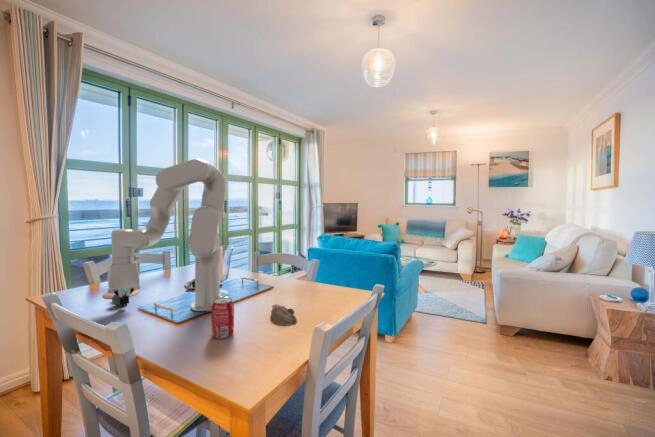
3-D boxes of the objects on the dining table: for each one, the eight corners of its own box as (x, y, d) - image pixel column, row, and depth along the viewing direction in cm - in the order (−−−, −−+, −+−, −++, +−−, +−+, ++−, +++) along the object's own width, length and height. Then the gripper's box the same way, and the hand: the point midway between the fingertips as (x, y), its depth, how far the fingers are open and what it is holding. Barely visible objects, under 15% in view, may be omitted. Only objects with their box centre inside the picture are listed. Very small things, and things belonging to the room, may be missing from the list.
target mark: (144, 289, 147) (144, 288, 147) (129, 298, 133) (129, 298, 133) (113, 289, 145) (113, 288, 145) (95, 299, 131) (95, 298, 131)
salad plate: (178, 284, 158) (177, 275, 157) (212, 279, 169) (212, 271, 169) (188, 294, 143) (188, 284, 142) (225, 287, 154) (225, 278, 154)
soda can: (226, 328, 106) (226, 295, 105) (238, 334, 101) (238, 299, 100) (207, 335, 100) (207, 300, 99) (219, 342, 96) (219, 305, 95)
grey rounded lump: (130, 290, 126) (132, 301, 127) (119, 288, 127) (121, 300, 128) (118, 297, 120) (121, 309, 122) (107, 295, 122) (110, 307, 123)
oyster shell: (272, 327, 108) (272, 314, 108) (268, 314, 120) (268, 302, 120) (298, 325, 111) (298, 312, 110) (292, 312, 123) (292, 300, 122)
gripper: (144, 256, 127) (145, 299, 128) (99, 260, 118) (101, 306, 119) (146, 260, 121) (147, 304, 122) (99, 264, 112) (101, 312, 113)
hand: (124, 305), depth 121 cm, fingers closed
